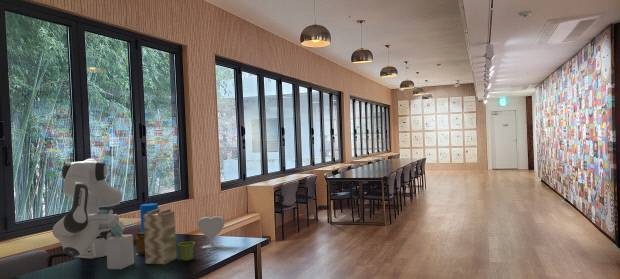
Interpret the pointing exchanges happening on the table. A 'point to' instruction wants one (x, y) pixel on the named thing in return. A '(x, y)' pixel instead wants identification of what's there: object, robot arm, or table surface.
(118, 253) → the white rectangular block
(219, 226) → the heart sculpture
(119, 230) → the teal green bar
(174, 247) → the zigzag patterned block
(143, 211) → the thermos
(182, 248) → the plant pot
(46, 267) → the table surface
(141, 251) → the condiment
